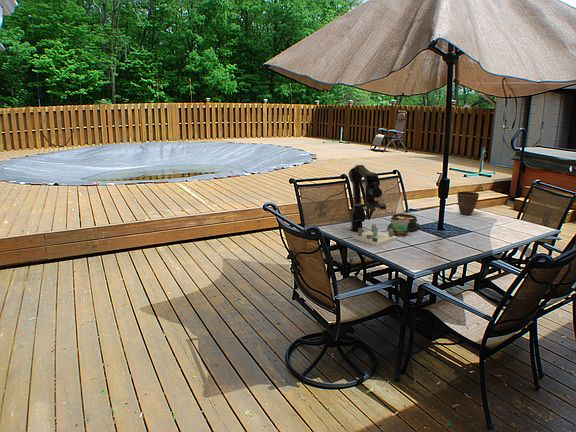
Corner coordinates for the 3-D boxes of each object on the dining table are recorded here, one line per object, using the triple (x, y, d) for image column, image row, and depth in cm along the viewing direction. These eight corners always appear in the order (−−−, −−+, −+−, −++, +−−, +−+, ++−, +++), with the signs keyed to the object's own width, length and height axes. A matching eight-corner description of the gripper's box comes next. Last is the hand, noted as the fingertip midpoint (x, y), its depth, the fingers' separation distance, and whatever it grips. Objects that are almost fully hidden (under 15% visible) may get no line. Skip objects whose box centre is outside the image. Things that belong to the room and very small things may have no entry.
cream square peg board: (353, 238, 262) (353, 228, 260) (372, 233, 273) (373, 223, 271) (377, 245, 248) (378, 235, 246) (396, 239, 259) (397, 229, 258)
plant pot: (480, 216, 314) (483, 195, 310) (461, 217, 312) (464, 195, 308) (469, 211, 329) (472, 191, 325) (451, 212, 327) (453, 191, 323)
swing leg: (369, 238, 254) (369, 230, 252) (365, 237, 256) (365, 229, 254) (378, 236, 259) (378, 228, 258) (374, 235, 261) (375, 227, 260)
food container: (394, 237, 264) (395, 221, 262) (389, 234, 270) (390, 219, 267) (412, 235, 267) (413, 220, 265) (407, 233, 273) (408, 217, 271)
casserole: (404, 235, 269) (405, 222, 267) (380, 229, 282) (380, 216, 280) (426, 228, 284) (427, 215, 282) (402, 222, 298) (403, 210, 296)
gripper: (355, 196, 247) (354, 223, 251) (388, 197, 245) (386, 223, 249) (353, 193, 258) (352, 218, 262) (385, 193, 256) (384, 219, 260)
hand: (368, 219), depth 258 cm, fingers closed
